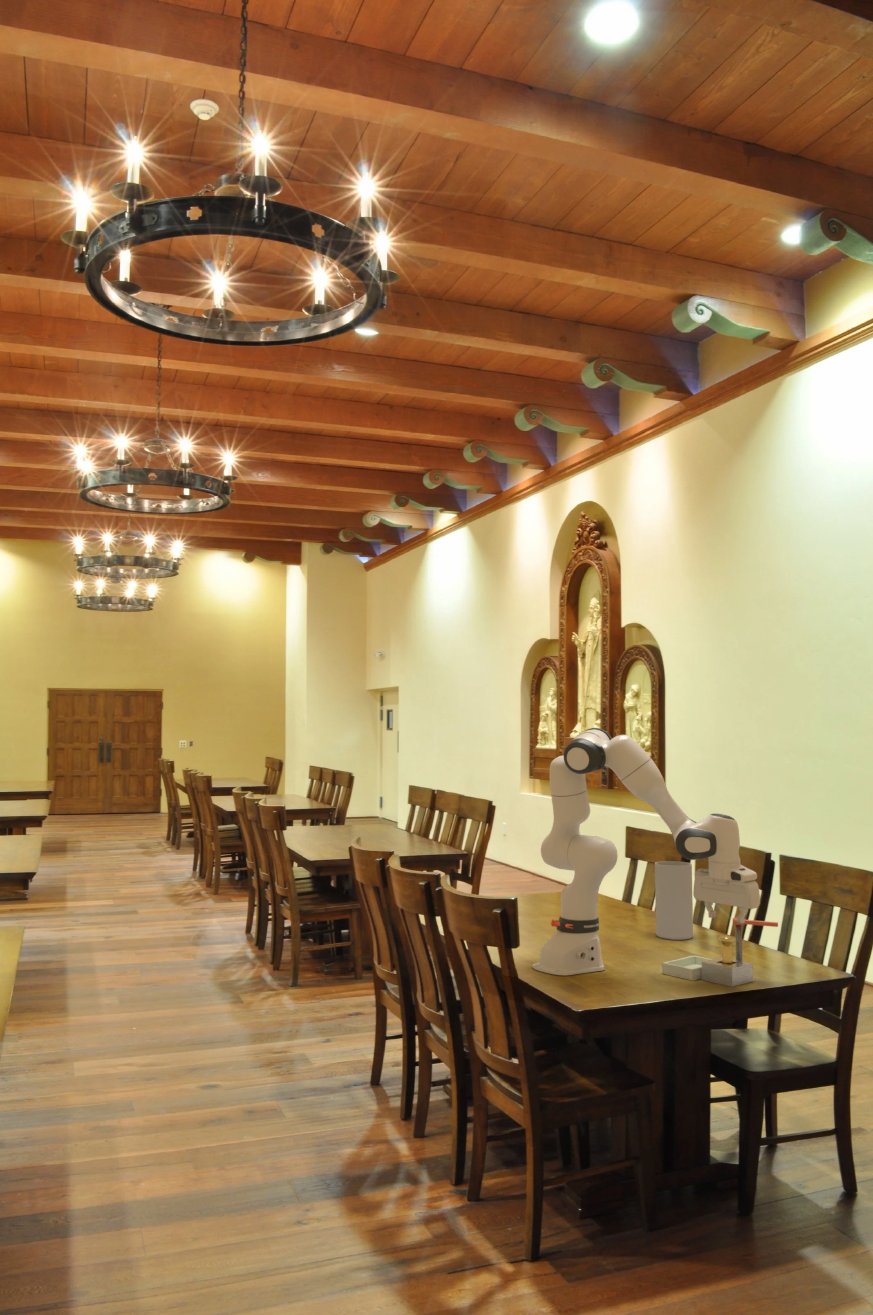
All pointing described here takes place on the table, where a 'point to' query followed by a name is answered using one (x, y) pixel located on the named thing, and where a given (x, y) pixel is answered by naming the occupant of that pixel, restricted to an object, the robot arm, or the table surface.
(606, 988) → the table surface
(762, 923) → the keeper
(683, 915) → the cylinder vase
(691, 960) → the tray
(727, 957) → the pin
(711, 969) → the socket block
